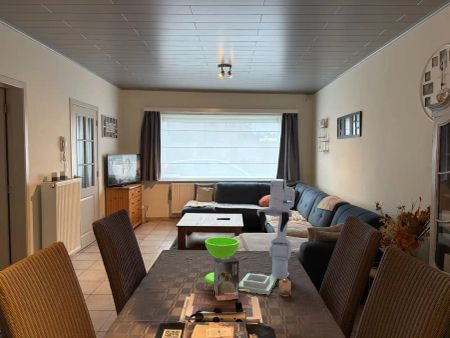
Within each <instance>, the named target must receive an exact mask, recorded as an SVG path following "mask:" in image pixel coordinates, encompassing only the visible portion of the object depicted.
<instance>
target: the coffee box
mask: <svg viewBox="0 0 450 338" xmlns="http://www.w3.org/2000/svg"><path fill="white" fill-rule="evenodd" d="M213 272H214V284H213V292H214V291H215V292H216V293H217V294H221V293H234V292H239V293H240V291H239V283H240V261H239V260H238V259H237V257H235V256H230V257H225V258H216V257H214V259H213Z"/></svg>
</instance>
